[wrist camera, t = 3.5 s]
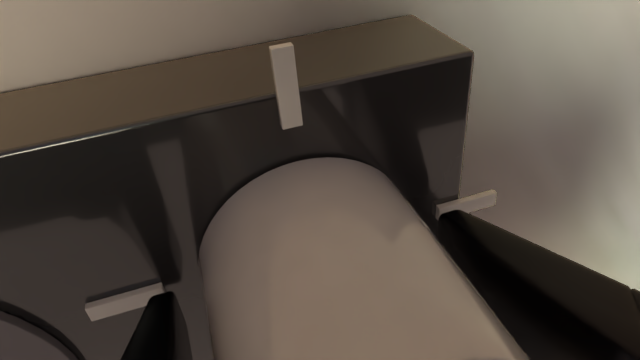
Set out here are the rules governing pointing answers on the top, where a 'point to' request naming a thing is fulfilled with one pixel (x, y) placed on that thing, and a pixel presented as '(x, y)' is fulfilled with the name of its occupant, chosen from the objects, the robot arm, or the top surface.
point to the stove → (207, 163)
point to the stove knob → (338, 274)
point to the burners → (28, 342)
